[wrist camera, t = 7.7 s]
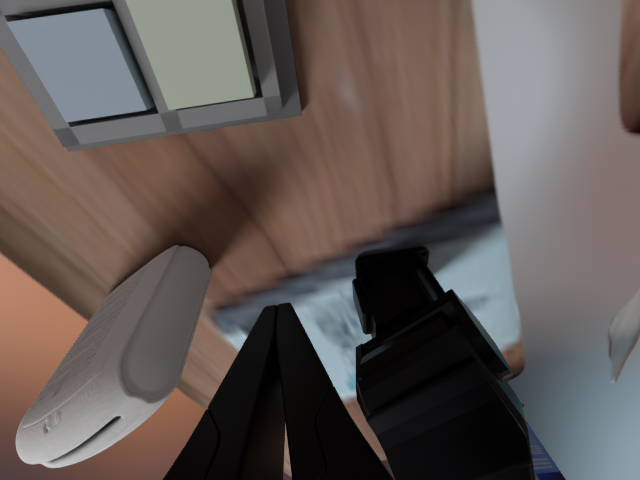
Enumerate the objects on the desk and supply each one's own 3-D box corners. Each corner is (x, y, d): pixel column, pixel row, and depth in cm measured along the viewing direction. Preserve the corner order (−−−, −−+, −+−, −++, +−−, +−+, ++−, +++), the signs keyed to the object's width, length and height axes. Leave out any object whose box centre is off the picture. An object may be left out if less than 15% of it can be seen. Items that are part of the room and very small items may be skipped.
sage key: (234, -8, 13) (227, -16, 11) (256, 91, 15) (253, 97, 13) (145, 5, 13) (125, -1, 11) (180, 103, 15) (168, 110, 13)
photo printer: (142, 323, 27) (58, 495, 16) (97, 299, 24) (-33, 480, 14) (222, 266, 24) (180, 428, 14) (179, 233, 22) (93, 397, 12)
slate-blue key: (123, 12, 14) (102, 8, 12) (160, 103, 16) (146, 110, 14) (38, 24, 14) (6, 22, 12) (88, 114, 16) (66, 122, 14)
